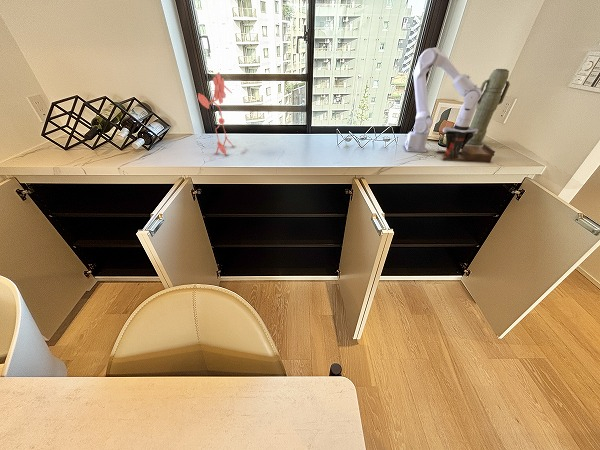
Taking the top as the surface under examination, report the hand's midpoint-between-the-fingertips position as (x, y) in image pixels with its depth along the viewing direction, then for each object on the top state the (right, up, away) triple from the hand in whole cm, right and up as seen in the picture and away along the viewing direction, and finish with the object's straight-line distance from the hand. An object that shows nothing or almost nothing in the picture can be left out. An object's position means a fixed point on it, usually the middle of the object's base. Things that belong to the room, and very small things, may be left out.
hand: (453, 147), depth 124 cm
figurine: (-109, +1, +9) cm, 110 cm away
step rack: (+6, -4, +2) cm, 7 cm away
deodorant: (0, -4, +3) cm, 5 cm away
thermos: (+22, +8, +19) cm, 30 cm away
